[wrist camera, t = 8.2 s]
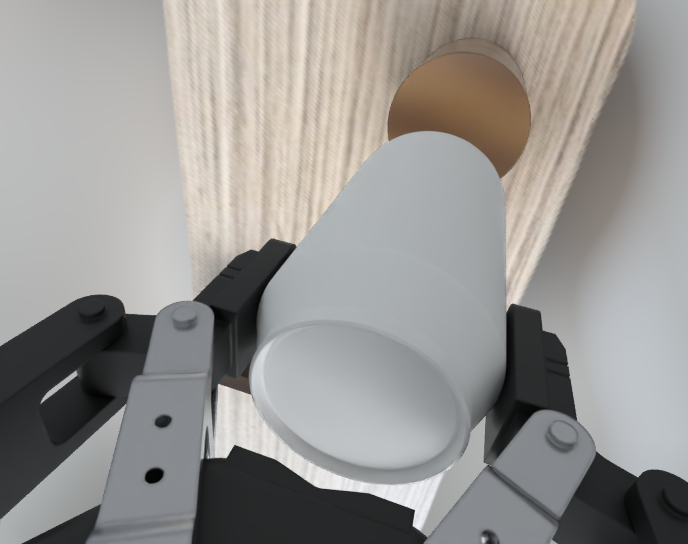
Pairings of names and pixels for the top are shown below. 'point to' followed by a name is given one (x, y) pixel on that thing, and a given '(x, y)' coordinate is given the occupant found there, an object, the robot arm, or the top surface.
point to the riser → (467, 100)
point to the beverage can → (390, 317)
